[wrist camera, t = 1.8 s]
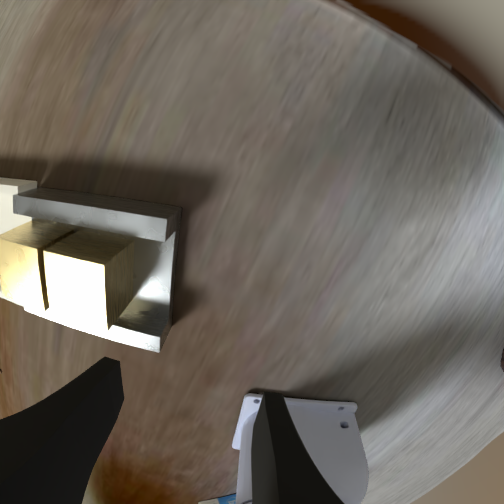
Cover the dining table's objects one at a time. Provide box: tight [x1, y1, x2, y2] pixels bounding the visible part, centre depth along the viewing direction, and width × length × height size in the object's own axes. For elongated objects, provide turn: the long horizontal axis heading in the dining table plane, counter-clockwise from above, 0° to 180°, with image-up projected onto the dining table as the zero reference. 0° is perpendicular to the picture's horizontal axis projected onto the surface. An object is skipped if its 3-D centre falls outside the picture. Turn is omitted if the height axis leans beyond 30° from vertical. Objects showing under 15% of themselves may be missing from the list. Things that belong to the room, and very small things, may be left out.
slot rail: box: [13, 187, 182, 353], centre depth 17 cm, size 11×8×3 cm
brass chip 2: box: [43, 230, 134, 332], centre depth 16 cm, size 4×4×4 cm
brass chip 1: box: [0, 220, 74, 312], centre depth 16 cm, size 4×4×4 cm
